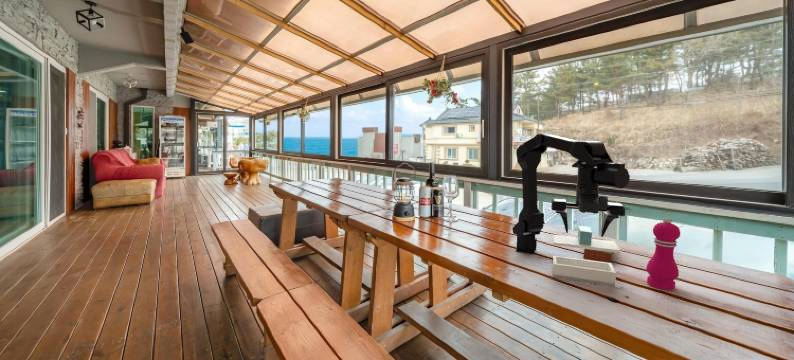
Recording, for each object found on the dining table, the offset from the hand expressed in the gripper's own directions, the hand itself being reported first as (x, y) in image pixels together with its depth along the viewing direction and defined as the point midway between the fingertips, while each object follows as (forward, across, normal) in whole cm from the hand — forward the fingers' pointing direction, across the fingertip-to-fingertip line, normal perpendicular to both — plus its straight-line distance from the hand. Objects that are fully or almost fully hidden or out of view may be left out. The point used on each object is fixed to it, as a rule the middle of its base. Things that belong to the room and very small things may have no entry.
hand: (584, 234), depth 99 cm
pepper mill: (+13, +20, +2) cm, 24 cm away
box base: (+13, 0, 0) cm, 13 cm away
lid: (+3, 0, 0) cm, 3 cm away
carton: (+14, +8, +23) cm, 28 cm away
